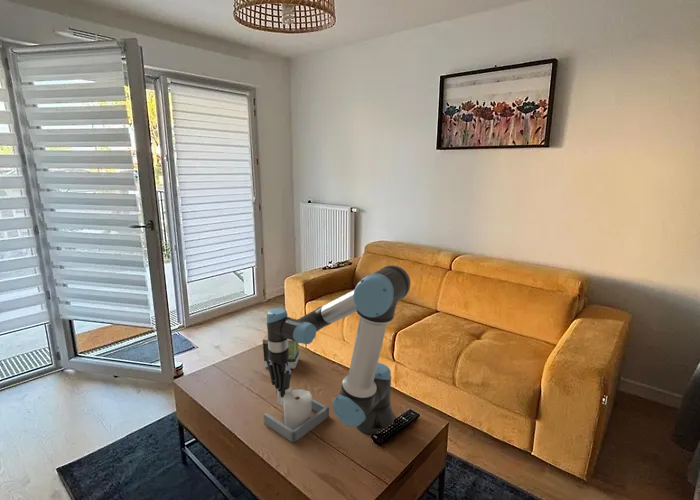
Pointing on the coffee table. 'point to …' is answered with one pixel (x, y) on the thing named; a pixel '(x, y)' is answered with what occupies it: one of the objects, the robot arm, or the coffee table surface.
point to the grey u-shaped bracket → (304, 427)
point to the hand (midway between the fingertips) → (281, 402)
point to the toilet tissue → (296, 407)
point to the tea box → (293, 352)
